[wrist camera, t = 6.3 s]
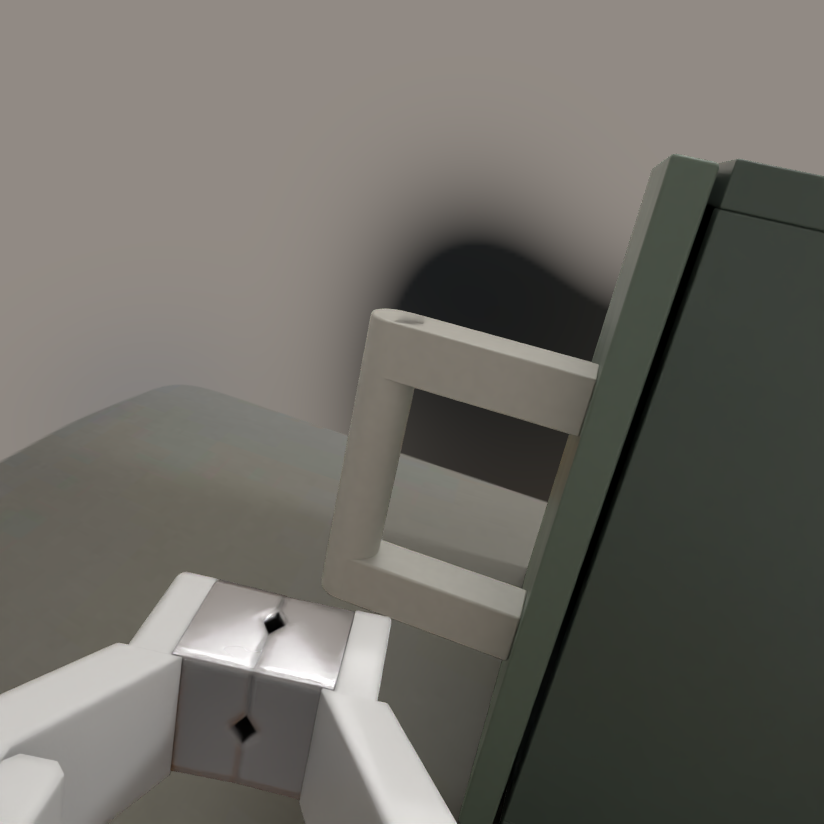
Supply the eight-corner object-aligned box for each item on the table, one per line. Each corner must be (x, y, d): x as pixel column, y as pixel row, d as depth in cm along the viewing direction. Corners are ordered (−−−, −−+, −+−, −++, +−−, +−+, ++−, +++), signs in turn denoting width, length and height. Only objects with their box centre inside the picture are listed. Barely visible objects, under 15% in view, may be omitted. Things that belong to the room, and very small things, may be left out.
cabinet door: (272, 745, 23) (386, 92, 16) (413, 525, 37) (505, 135, 30) (488, 837, 21) (721, 163, 14) (547, 571, 36) (676, 172, 29)
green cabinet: (494, 843, 21) (737, 157, 14) (551, 575, 36) (684, 170, 29) (963, 1043, 19) (1556, 327, 11) (819, 666, 33) (1040, 246, 26)
